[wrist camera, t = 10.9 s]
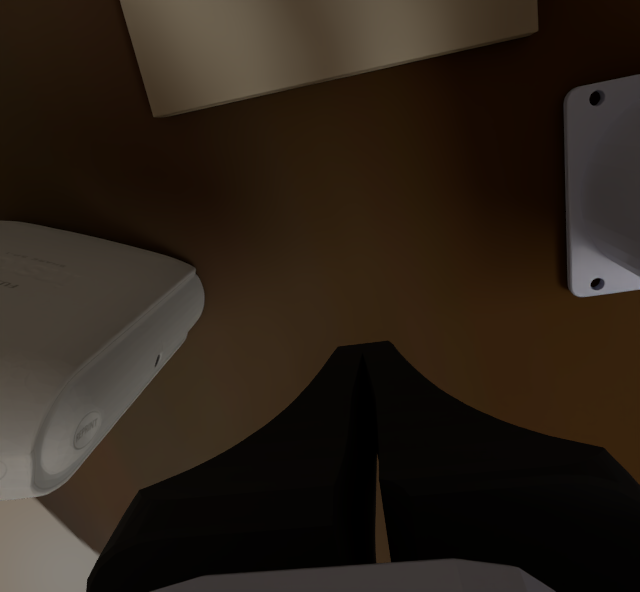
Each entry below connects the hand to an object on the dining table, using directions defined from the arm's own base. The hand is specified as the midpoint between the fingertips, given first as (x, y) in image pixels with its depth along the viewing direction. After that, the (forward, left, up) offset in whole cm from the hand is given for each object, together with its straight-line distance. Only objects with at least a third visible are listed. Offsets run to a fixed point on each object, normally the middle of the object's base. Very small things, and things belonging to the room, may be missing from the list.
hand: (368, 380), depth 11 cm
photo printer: (+12, -2, -10) cm, 16 cm away
